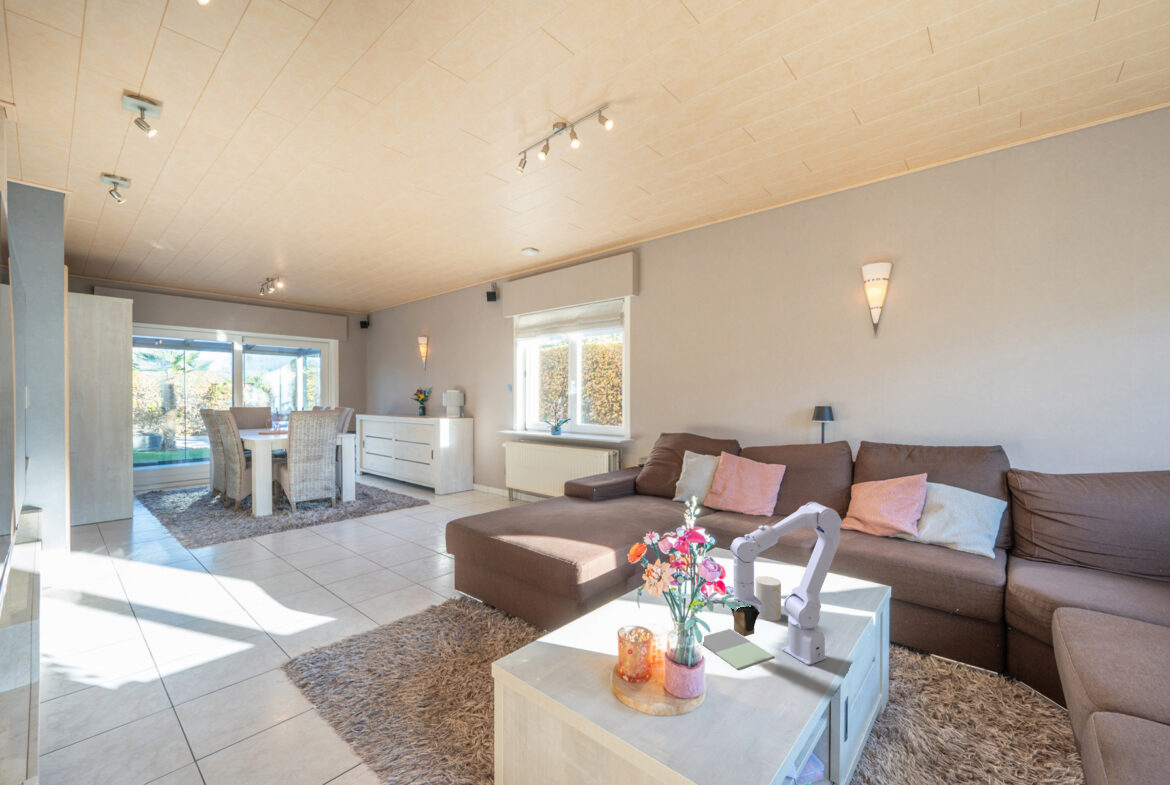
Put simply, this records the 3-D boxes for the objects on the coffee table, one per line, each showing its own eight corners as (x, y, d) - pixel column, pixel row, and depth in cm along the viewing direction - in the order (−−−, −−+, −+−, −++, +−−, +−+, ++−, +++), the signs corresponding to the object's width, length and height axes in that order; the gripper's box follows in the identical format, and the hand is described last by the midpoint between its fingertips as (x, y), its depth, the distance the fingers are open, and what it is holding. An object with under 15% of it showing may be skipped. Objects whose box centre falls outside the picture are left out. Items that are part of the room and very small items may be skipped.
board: (774, 657, 139) (774, 655, 139) (737, 669, 133) (737, 668, 133) (730, 630, 156) (730, 628, 156) (695, 639, 149) (695, 638, 149)
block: (754, 633, 139) (754, 612, 139) (744, 636, 138) (743, 615, 138) (744, 627, 143) (744, 607, 143) (733, 630, 141) (733, 610, 141)
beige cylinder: (777, 623, 160) (776, 587, 160) (752, 616, 165) (752, 581, 165) (783, 614, 166) (783, 579, 166) (760, 608, 171) (759, 574, 171)
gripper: (716, 574, 145) (716, 619, 145) (752, 591, 132) (752, 641, 132) (734, 570, 148) (734, 614, 148) (770, 587, 135) (771, 635, 135)
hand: (744, 626), depth 140 cm, fingers closed on block, 4 cm apart
